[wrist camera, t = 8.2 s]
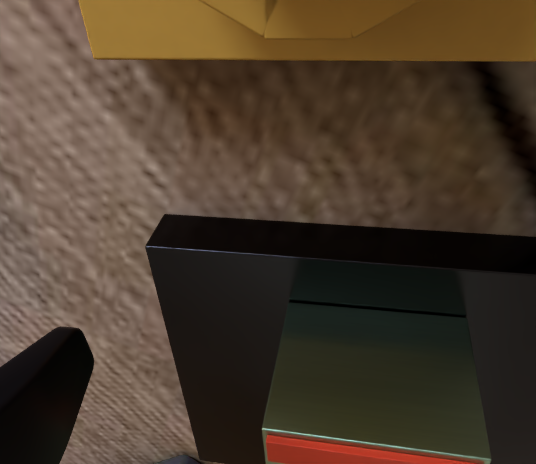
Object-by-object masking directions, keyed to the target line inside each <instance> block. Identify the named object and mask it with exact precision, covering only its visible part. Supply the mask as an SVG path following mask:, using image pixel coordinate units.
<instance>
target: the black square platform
mask: <svg viewBox="0 0 536 464" xmlns="http://www.w3.org/2000/svg"><path fill="white" fill-rule="evenodd" d="M145 248H146V252H147V255H148V259H149V263H150V267H151V271H152V275H153V279H154V283H155V287H156V291H157V295H158V298H159V302H160V306H161V310H162V314H163V318H164V322H165V326H166V330H167V334H168V337H169V341H170V345H171V349H172V353H173V357H174V361H175V365H176V369H177V373H178V377H179V380H180V384H181V388H182V392H183V396H184V400H185V404H186V408H187V412H188V416H189V420H190V423H191V427H192V431H193V435H194V439H195V443H196V447H197V451H198V455H199V459H200V460H204V461H211V462H217V463H224V464H266V461H265V452H264V444H263V435H262V425H263V421H264V416H265V411H266V407H267V402H268V397H269V392H270V388H271V383H272V378H273V373H274V369H275V364H276V359H277V354H278V350H279V345H280V340H281V335H282V331H283V326H284V321H285V316H286V312H287V307H288V303H289V302H292V303H303V304H314V305H326V306H337V307H348V308H360V309H371V310H382V311H393V312H405V313H416V314H427V315H439V316H450V317H461V318H467V320H468V326H469V331H470V337H471V343H472V349H473V355H474V361H475V366H476V372H477V378H478V384H479V390H480V395H481V401H482V407H483V413H484V419H485V425H486V430H487V436H488V442H489V448H490V454H491V459H492V460H491V463H490V464H536V237H528V236H511V235H495V234H479V233H463V232H446V231H430V230H414V229H398V228H382V227H365V226H349V225H333V224H317V223H300V222H284V221H268V220H252V219H236V218H219V217H203V216H187V215H171V214H164V216H163V217H162V219H161V221H160V222H159V224H158V226H157V227H156V229H155V231H154V232H153V234H152V236H151V237H150V239H149V241H148V242H147V244H146V246H145Z"/></svg>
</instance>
